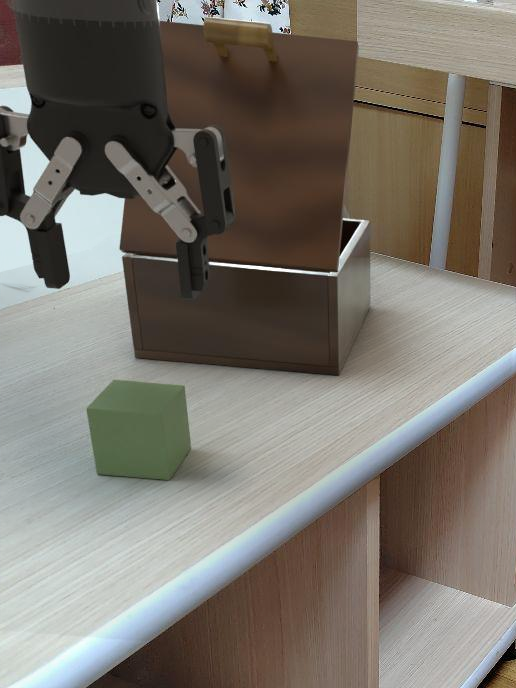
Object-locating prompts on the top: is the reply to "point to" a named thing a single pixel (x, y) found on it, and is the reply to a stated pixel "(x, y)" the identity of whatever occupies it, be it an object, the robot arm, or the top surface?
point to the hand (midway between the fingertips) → (125, 290)
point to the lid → (259, 140)
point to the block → (139, 429)
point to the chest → (253, 310)
